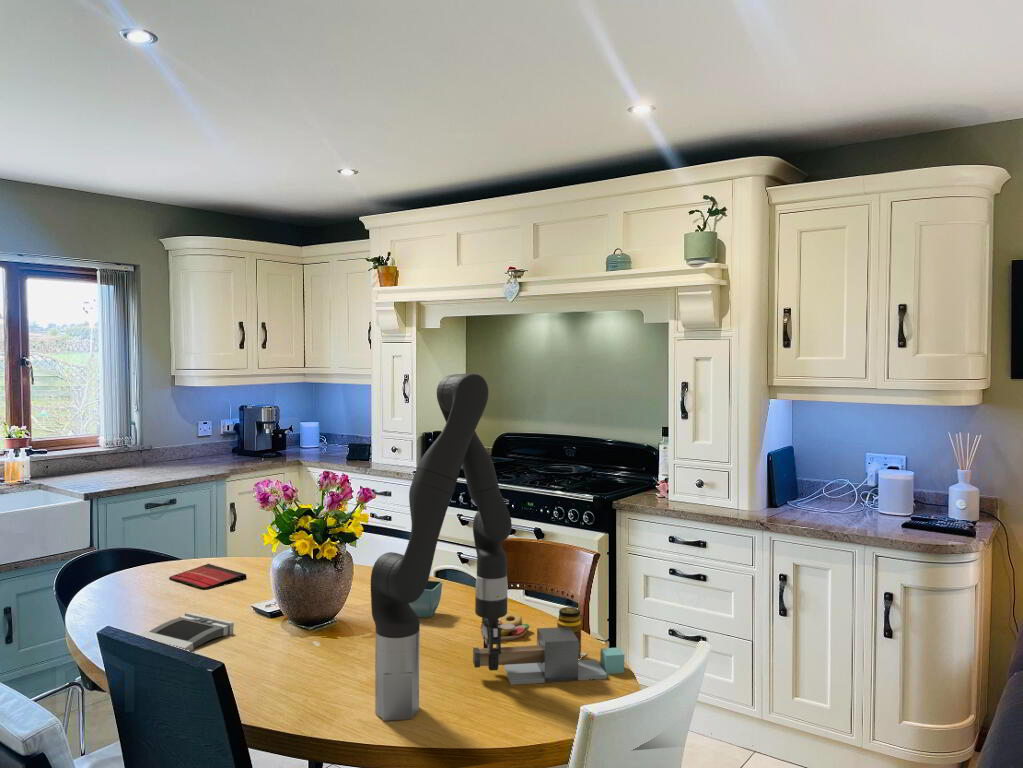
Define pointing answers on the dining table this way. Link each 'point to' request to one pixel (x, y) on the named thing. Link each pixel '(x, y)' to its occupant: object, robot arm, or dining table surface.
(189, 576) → the binder
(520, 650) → the shaft
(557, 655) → the bearing block
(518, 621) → the toy food set
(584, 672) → the base plate
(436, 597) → the flower pot
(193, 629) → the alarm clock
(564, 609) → the condiment
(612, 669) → the block
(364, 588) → the dining table surface
